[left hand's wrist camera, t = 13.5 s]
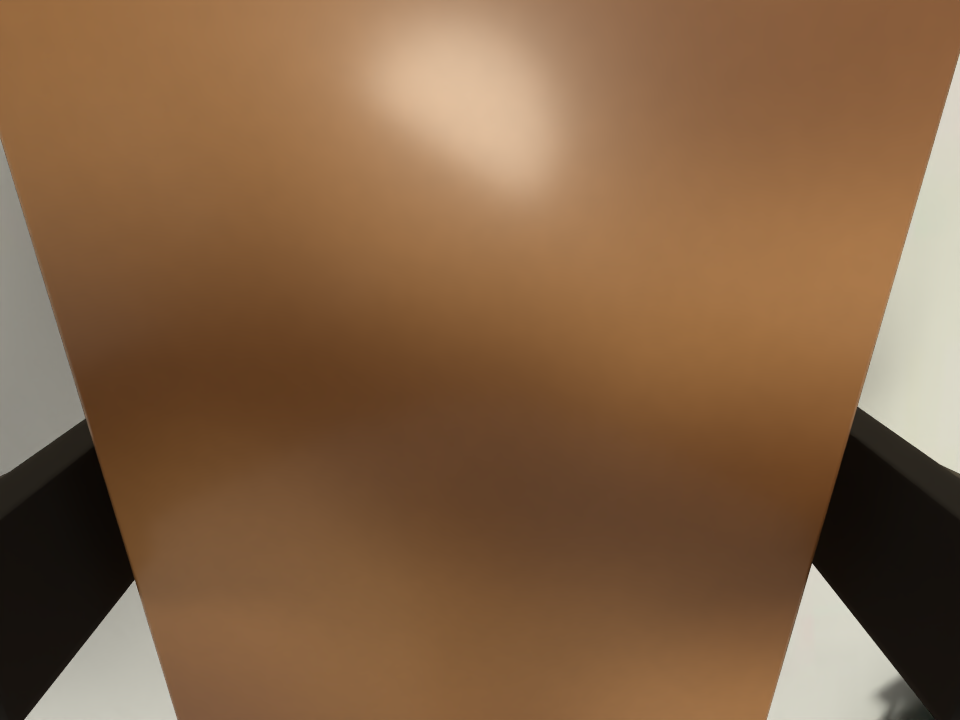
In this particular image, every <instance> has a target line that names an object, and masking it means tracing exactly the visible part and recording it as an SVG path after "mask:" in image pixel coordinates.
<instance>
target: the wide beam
mask: <svg viewBox="0 0 960 720" xmlns="http://www.w3.org/2000/svg"><path fill="white" fill-rule="evenodd" d="M959 54H960V0H0V138H1V142H2V145H3V148H4V151H5V155H6V158H7V161H8V165H9V168H10V171H11V174H12V178H13V181H14V184H15V188H16V191H17V194H18V197H19V201H20V204H21V207H22V211H23V214H24V217H25V220H26V224H27V227H28V230H29V234H30V237H31V240H32V243H33V247H34V250H35V253H36V257H37V260H38V263H39V266H40V270H41V273H42V276H43V280H44V283H45V286H46V289H47V293H48V296H49V299H50V303H51V306H52V309H53V312H54V316H55V319H56V322H57V326H58V329H59V332H60V335H61V339H62V342H63V345H64V348H65V352H66V355H67V358H68V362H69V365H70V368H71V371H72V375H73V378H74V381H75V385H76V388H77V391H78V394H79V398H80V401H81V404H82V408H83V411H84V414H85V417H86V421H87V424H88V427H89V431H90V434H91V437H92V440H93V444H94V447H95V450H96V454H97V457H98V460H99V463H100V467H101V470H102V473H103V477H104V480H105V483H106V486H107V490H108V493H109V496H110V500H111V503H112V506H113V509H114V513H115V516H116V519H117V523H118V526H119V529H120V532H121V536H122V539H123V542H124V546H125V549H126V552H127V555H128V559H129V562H130V565H131V569H132V572H133V575H134V578H135V582H136V585H137V588H138V592H139V595H140V598H141V601H142V605H143V608H144V611H145V615H146V618H147V621H148V624H149V628H150V631H151V634H152V637H153V641H154V644H155V647H156V651H157V654H158V657H159V660H160V664H161V667H162V670H163V674H164V677H165V680H166V683H167V687H168V690H169V693H170V697H171V700H172V703H173V706H174V710H175V713H176V716H177V720H767V717H768V713H769V710H770V706H771V703H772V699H773V696H774V692H775V689H776V685H777V682H778V679H779V675H780V672H781V668H782V665H783V661H784V658H785V654H786V651H787V647H788V644H789V641H790V637H791V634H792V630H793V627H794V623H795V620H796V616H797V613H798V610H799V606H800V603H801V599H802V596H803V592H804V589H805V585H806V582H807V578H808V575H809V572H810V568H811V565H812V561H813V558H814V554H815V551H816V547H817V544H818V540H819V537H820V534H821V530H822V527H823V523H824V520H825V516H826V513H827V509H828V506H829V503H830V499H831V496H832V492H833V489H834V485H835V482H836V478H837V475H838V471H839V468H840V465H841V461H842V458H843V454H844V451H845V447H846V444H847V440H848V437H849V433H850V430H851V427H852V423H853V420H854V416H855V413H856V409H857V406H858V402H859V399H860V395H861V392H862V389H863V385H864V382H865V378H866V375H867V371H868V368H869V364H870V361H871V358H872V354H873V351H874V347H875V344H876V340H877V337H878V333H879V330H880V326H881V323H882V320H883V316H884V313H885V309H886V306H887V302H888V299H889V295H890V292H891V288H892V285H893V282H894V278H895V275H896V271H897V268H898V264H899V261H900V257H901V254H902V251H903V247H904V244H905V240H906V237H907V233H908V230H909V226H910V223H911V219H912V216H913V213H914V209H915V206H916V202H917V199H918V195H919V192H920V188H921V185H922V181H923V178H924V175H925V171H926V168H927V164H928V161H929V157H930V154H931V150H932V147H933V144H934V140H935V137H936V133H937V130H938V126H939V123H940V119H941V116H942V112H943V109H944V106H945V102H946V99H947V95H948V92H949V88H950V85H951V81H952V78H953V74H954V71H955V68H956V64H957V61H958V57H959Z"/></svg>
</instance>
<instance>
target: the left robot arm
mask: <svg viewBox="0 0 960 720" xmlns="http://www.w3.org/2000/svg"><path fill="white" fill-rule="evenodd" d="M812 563H813V565H814V566H815V567H816V568H817V570H818V571H819V572H820V573H821V575H822V576H823V577H824V579H825V580H826V581H827V582H828V584H829V585H830V586H831V587H832V589H833V590H834V591H835V592H836V594H837V595H838V596H839V598H840V599H841V600H842V601H843V603H844V604H845V605H846V606H847V608H848V609H849V610H850V611H851V613H852V614H853V615H854V617H855V618H856V619H857V620H858V622H859V623H860V624H861V625H862V627H863V628H864V629H865V631H866V632H867V633H868V634H869V636H870V637H871V638H872V639H873V641H874V642H875V643H876V644H877V646H878V647H879V648H880V650H881V651H882V652H883V653H884V655H885V656H886V657H887V658H888V660H889V661H890V662H891V663H892V665H893V666H894V667H895V669H896V670H897V671H898V672H899V674H900V675H901V676H902V677H903V679H904V680H905V681H906V682H907V684H908V685H909V686H910V688H911V689H912V690H913V691H914V693H915V694H916V695H917V696H918V698H919V699H920V700H921V701H922V703H923V704H924V705H925V707H926V708H927V709H928V710H929V712H930V713H931V714H932V715H933V717H934V718H935V719H936V720H960V474H959V473H957V472H955V471H953V470H950V469H948V468H946V467H944V466H942V465H940V464H938V463H937V462H936V461H934V460H933V459H931V458H930V457H928V456H927V455H926V454H924V453H923V452H921V451H920V450H918V449H917V448H916V447H914V446H913V445H911V444H910V443H908V442H907V441H906V440H904V439H903V438H901V437H900V436H898V435H897V434H896V433H894V432H893V431H891V430H890V429H888V428H887V427H886V426H884V425H883V424H881V423H880V422H879V421H877V420H876V419H874V418H873V417H871V416H870V415H869V414H867V413H866V412H864V411H863V410H861V409H860V408H859V407H857V409H856V413H855V416H854V420H853V423H852V427H851V430H850V433H849V437H848V440H847V444H846V447H845V451H844V454H843V458H842V461H841V465H840V468H839V471H838V475H837V478H836V482H835V485H834V489H833V492H832V496H831V499H830V503H829V506H828V509H827V513H826V516H825V520H824V523H823V527H822V530H821V534H820V537H819V540H818V544H817V547H816V551H815V554H814V558H813V561H812ZM134 580H135V578H134V575H133V572H132V569H131V565H130V562H129V559H128V555H127V552H126V549H125V546H124V542H123V539H122V536H121V532H120V529H119V526H118V523H117V519H116V516H115V513H114V509H113V506H112V503H111V500H110V496H109V493H108V490H107V486H106V483H105V480H104V477H103V473H102V470H101V467H100V463H99V460H98V457H97V454H96V450H95V447H94V444H93V440H92V437H91V434H90V431H89V427H88V424H87V421H86V419H84V420H83V421H81V422H80V423H79V424H77V425H76V426H74V427H73V428H72V429H70V430H69V431H67V432H66V433H64V434H63V435H62V436H60V437H59V438H57V439H56V440H54V441H53V442H52V443H50V444H49V445H47V446H46V447H44V448H43V449H42V450H40V451H39V452H37V453H36V454H34V455H33V456H32V457H30V458H29V459H27V460H26V461H24V462H23V463H22V464H20V465H19V466H17V467H16V468H14V469H13V470H12V471H10V472H8V473H6V474H4V475H2V476H0V720H24V719H25V718H26V717H27V715H28V714H29V713H30V712H31V710H32V709H33V708H34V707H35V705H36V704H37V703H38V701H39V700H40V699H41V698H42V696H43V695H44V694H45V693H46V691H47V690H48V689H49V688H50V686H51V685H52V684H53V682H54V681H55V680H56V679H57V677H58V676H59V675H60V674H61V672H62V671H63V670H64V669H65V667H66V666H67V665H68V663H69V662H70V661H71V660H72V658H73V657H74V656H75V655H76V653H77V652H78V651H79V650H80V648H81V647H82V646H83V644H84V643H85V642H86V641H87V639H88V638H89V637H90V636H91V634H92V633H93V632H94V631H95V629H96V628H97V627H98V625H99V624H100V623H101V622H102V620H103V619H104V618H105V617H106V615H107V614H108V613H109V612H110V610H111V609H112V608H113V606H114V605H115V604H116V603H117V601H118V600H119V599H120V598H121V596H122V595H123V594H124V593H125V591H126V590H127V589H128V587H129V586H130V585H131V584H132V582H133V581H134Z"/></svg>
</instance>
